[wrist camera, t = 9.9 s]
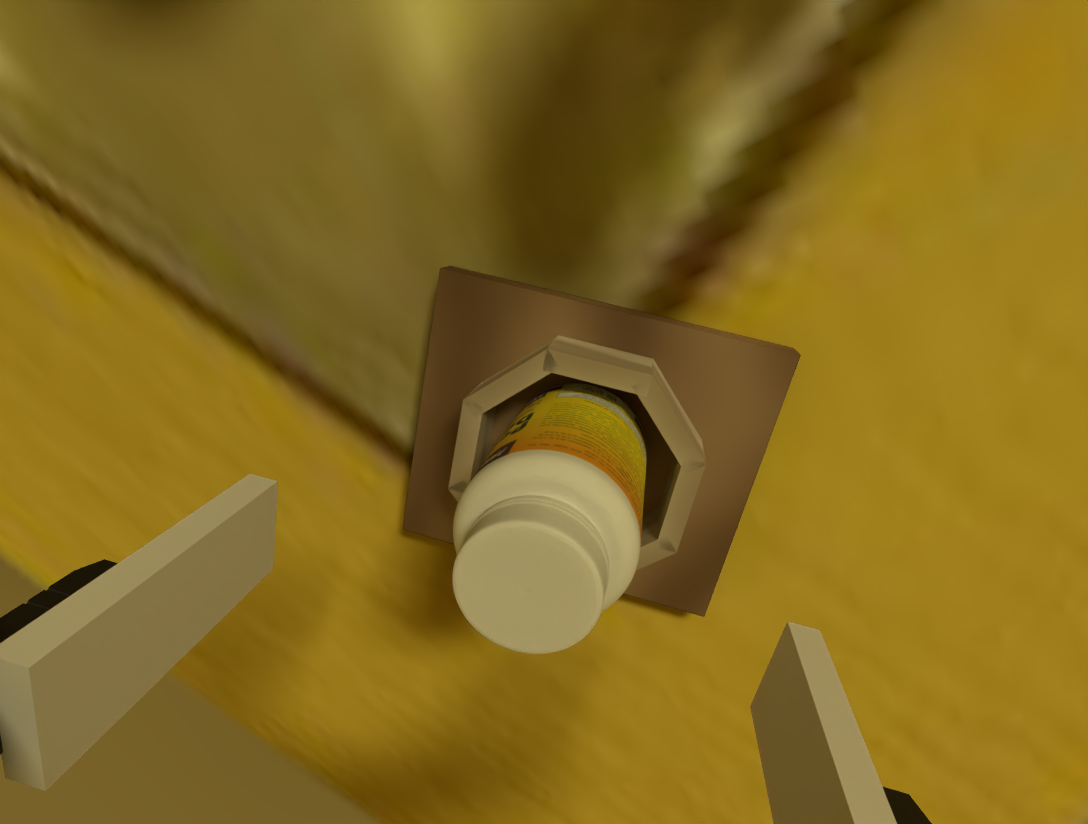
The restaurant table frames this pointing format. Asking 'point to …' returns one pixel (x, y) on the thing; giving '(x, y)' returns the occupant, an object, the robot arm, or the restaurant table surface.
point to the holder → (624, 370)
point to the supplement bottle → (552, 521)
